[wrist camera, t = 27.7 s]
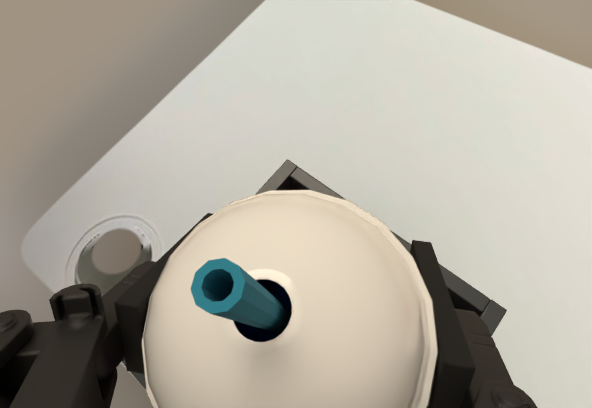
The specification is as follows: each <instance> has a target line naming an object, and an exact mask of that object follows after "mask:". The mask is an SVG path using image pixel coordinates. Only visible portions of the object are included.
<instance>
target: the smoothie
mask: <svg viewBox="0 0 592 408" xmlns="http://www.w3.org/2000/svg"><path fill="white" fill-rule="evenodd" d="M142 353H143V363H144V372H145V382H146V391H147V395H148V397H149V399H150V402H151V404H152V407H153V408H428V406H429V402H430V397H431V391H432V386H433V380H434V375H435V369H436V364H437V359H438V341H437V333H436V324H435V316H434V308H433V300H432V298H431V296H430V294H429V292H428V289H427V287H426V285H425V283H424V280H423V278H422V276H421V274H420V272H419V269H418V267H417V265H416V263H415V260H414V258H413V256H412V255H411V254H410V253H409V252H408V251H407V249H406V248H405V247H404V246H403V245H402V244H401V242H400V241H399V240H398V239H397V238H396V237H395V235H394V234H393V233H392V232H391V231H390V230H389V229H388V227H387V226H386V225H385V224H384V223H383V222H381V221H380V220H378V219H377V218H375V217H373V216H372V215H370V214H369V213H367V212H365V211H364V210H362V209H361V208H359V207H357V206H356V205H354V204H353V203H351V202H350V201H347V200H344V199H340V198H337V197H333V196H330V195H326V194H323V193H319V192H316V191H312V190H270V191H267V192H264V193H260V194H257V195H254V196H250V197H247V198H244V199H241V200H237V201H234V202H232V203H230V204H228V205H227V206H225V207H224V208H222V209H221V210H219V211H218V212H216V213H215V214H213V215H212V216H210V217H209V218H207V219H206V220H204V221H202V222H201V223H199V224H198V225H197V226H196V227H195V228H194V229H193V231H192V232H191V233H190V234H189V235H188V236H187V237H186V238H185V240H184V241H183V242H182V243H181V244H180V245H179V246H178V247H177V248H176V250H175V251H174V252H173V253H172V254H171V255H170V257H169V259H168V261H167V263H166V265H165V267H164V269H163V271H162V273H161V275H160V277H159V279H158V281H157V283H156V285H155V287H154V289H153V292H152V294H151V296H150V301H149V306H148V311H147V317H146V322H145V327H144V332H143V338H142Z"/></svg>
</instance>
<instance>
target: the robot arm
mask: <svg viewBox="0 0 592 408" xmlns="http://www.w3.org/2000/svg"><path fill="white" fill-rule="evenodd" d="M212 215H213V214H211V213H208V214H207V215H205V216H204V217H203V218H202V219H201V220H200V221H199V222H198V223H197V224H196V225H195V226H194V227H193V228H192V229H191V230H190V231H189V232H188V233H187V234H186V235H184V236H183V237H182V238H181V239H180V240H179V241H178V242H177V243H176V244H175V245H174V246H173V247H172V248H171V249H170V250H169V251H168V252H167V253H166V254H164V255H163V256H162V257H161V258H160V259H159V260H158V261H157V262H153V261H147V262H145V263H143V264H141V265H139V266H137V267H135V268H134V269H133V270H132V271H131V272H130V273H129V274H128V275H127V277H124V278H123V279H122V280H121V281H120V282H119V284H118V283H117V284H116V285H115V286H114V287H113V288H112V289H111V290H110V291H108V292H107V293H106V294H105V295H104V296H103V297H102V296H101V291H100V289H99V288H98V287H97V286H96V285H92V284H78V285H73V286H70V287H67V288H65V289H62V290H61V291H59V292H57V293H56V294H54V295H53V296H52V297H51V299H50V304H51V308H52V311H53V315H54V318H55V321H52V322H37V323H32V319H31V316H30V314H29V313H28V312H27V311H23V310H9V311H5V312H2V313H0V408H110V405H111V400H112V397H113V393H114V389H115V385H116V381H117V369H116V367H117V366H118V365H119V363H120V362H121V361H122V360H123V358H125V363H126V368H127V371H131V372H136V373H141V374H145V372H144V363H143V353H142V338H143V332H144V327H145V322H146V317H147V311H148V306H149V301H150V296H151V294H152V292H153V289H154V287H155V285H156V283H157V281H158V279H159V277H160V275H161V273H162V271H163V269H164V267H165V265H166V263H167V261H168V259H169V257H170V255H171V254H172V253H173V252H174V251H175V250H176V248H177V247H178V246H179V245H180V244H181V243H182V242H183V241H184V240H185V238H186V237H187V236H188V235H189V234H190V233H191V232H192V231H193V229H194V228H195V227H196V226H197V225H198V224H199V223H201V222H202V221H204V220H206V219H207V218H209V217H210V216H212ZM410 254H411V255H412V256H413V258H414V260H415V263H416V265H417V267H418V269H419V272H420V274H421V276H422V278H423V280H424V283H425V285H426V287H427V289H428V292H429V294H430V296H431V298H432V300H433V308H434V316H435V324H436V333H437V341H438V359H437V364H436V369H435V375H434V380H433V386H432V391H431V397H430V402H429V406H428V408H537V406H536V405H535V403H534V402H533V400H532V399H531V398H530V397H529V396H528V395H527V394H526V393H525V392H524V391H523V390H521V389H520V388H518V387H516V386H515V385H514V384H513V382H512V380H511V378H510V375H509V373H508V371H507V369H506V367H505V364H504V362H503V360H502V358H501V356H500V354H499V351H498V349H497V348H496V345H495V343H494V340H493V338H492V337H491V334H490V332H489V329H488V327H487V325H486V323H485V322H484V321H483V320H482V319H481V318H480V317H479V316H478V315H477V314H476V313H475V312H474V311H468V310H461V309H455V308H454V306H453V303H452V300H451V297H450V294H449V292H448V289H447V286H446V283H445V280H444V278H443V275H442V272H441V269H440V267H439V264H438V261H437V258H436V255H435V253H434V250H433V247H432V244H431V243H430V242H423V241H415V240H412V244H411V249H410Z"/></svg>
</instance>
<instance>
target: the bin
mask: <svg viewBox="0 0 592 408" xmlns="http://www.w3.org/2000/svg"><path fill="white" fill-rule="evenodd" d="M270 190H312V191H316V192H319V193H323V194H326V195H330V196H333V197H337V198H340V199H344V198H343V197H341V196H340V195H338V194H337V193H335V192H334V191H333V190H331V189H330V188H328V187H327V186H325V185H324V184H322V183H321V182H320V181H318V180H317V179H315V178H314V177H312V176H311V175H309V174H308V173H306V172H305V171H304V170H302V169H301V168H299V167H298V166H297V165H295V164H294V163H292V162H291V161H289V160H288V159H287V160H286V161H285V163H284V164H283V165H282V166H281V167H280V168H279V169H278V170H277V171H276V172H275V173H274V175H273V176H272V177H271V178H270V179H269V180H268V181H267V182H266V183H265V184H264V185H263V187H262V188H261V189H260V190H259V191H258V192H257V193H256V194H255V195H257V194H260V193H264V192H267V191H270ZM344 200H346V199H344ZM390 231H391V230H390ZM391 232H392V231H391ZM392 233H393V234H394V235H395V237H396V238H397V239H398V240H399V241H400V242H401V244H402V245H403V246H404V247H405V248H406V249H407V251H408V252H409V253H410V249H411V244H410V243H408V242H407V241H405V240H404V239H402V238H401V237H399V236H398V235H396V234H395V233H394V232H392ZM438 264H439V263H438ZM439 267H440V269H441V272H442V275H443V278H444V280H445V283H446V286H447V289H448V292H449V294H450V297H451V300H452V303H453V306H454V308H455V309H461V310H468V311H474V312H475V313H476V314H477V315H478V316H479V317H480V318H481V319H482V320H483V321H484V322H485V323H486V325H487V327H488V329H489V332H490V334H491V336H492V334H493V333H494V331H495V329H496V328H497V326H498V325H499V323H500V321H501V320H502V318H503V316H504V315H505V313H506V311H507V310H506V309H504V308H503V307H501V306H500V305H499V304H497V303H496V302H494V301H493V300H490V299H489V298H488V297H486V296H485V295H484V294H482V293H481V292H479V291H478V290H476V289H475V288H473V287H472V286H471V285H469V284H468V283H466V282H465V281H463V280H462V279H460V278H459V277H457V276H456V275H455V274H453V273H452V272H450V271H449V270H447V269H446V268H444V267H443V266H441V265H440V264H439ZM122 361H123V363H124V365H125V366H126V363H125V358H123V360H122ZM130 372H131V371H130ZM131 373H132V374H133V375H134V376H135V377H136V379H137V380H138V381H139V382H140V383H141V384H142V386H143V387H144V388H145V389H146V382H145V374H141V373H136V372H131Z"/></svg>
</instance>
